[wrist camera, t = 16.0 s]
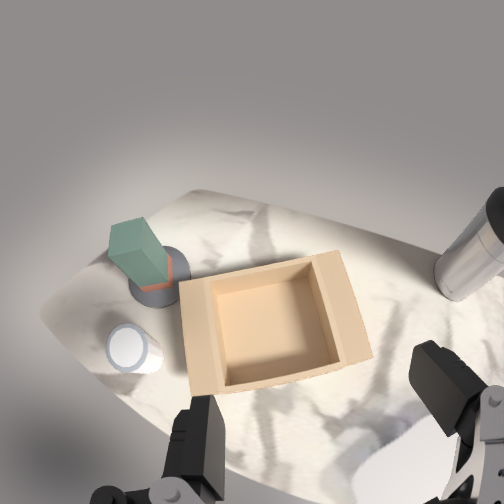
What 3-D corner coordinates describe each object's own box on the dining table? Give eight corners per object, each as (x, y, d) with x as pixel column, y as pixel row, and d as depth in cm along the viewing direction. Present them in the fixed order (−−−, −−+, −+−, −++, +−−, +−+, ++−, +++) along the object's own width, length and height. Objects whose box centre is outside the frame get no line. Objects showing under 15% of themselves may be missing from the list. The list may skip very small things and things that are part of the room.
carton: (331, 268, 42) (338, 249, 37) (359, 363, 34) (373, 357, 29) (190, 297, 42) (178, 282, 37) (203, 396, 34) (191, 396, 29)
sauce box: (171, 259, 44) (143, 216, 34) (173, 287, 42) (141, 249, 31) (144, 264, 44) (111, 225, 34) (144, 292, 42) (107, 257, 31)
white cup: (142, 327, 40) (120, 314, 34) (175, 348, 38) (157, 339, 32) (122, 361, 37) (97, 353, 31) (154, 385, 35) (132, 382, 29)
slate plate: (180, 239, 47) (178, 236, 47) (199, 292, 42) (197, 290, 41) (126, 263, 46) (124, 261, 45) (139, 318, 41) (136, 316, 40)
